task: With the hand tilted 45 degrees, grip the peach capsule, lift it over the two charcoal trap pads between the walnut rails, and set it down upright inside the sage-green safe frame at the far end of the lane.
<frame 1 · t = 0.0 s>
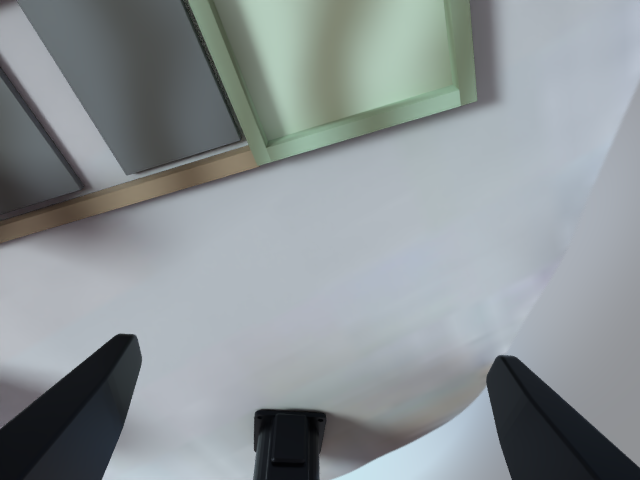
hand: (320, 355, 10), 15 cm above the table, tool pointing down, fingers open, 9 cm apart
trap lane: (81, 95, 20), on the table
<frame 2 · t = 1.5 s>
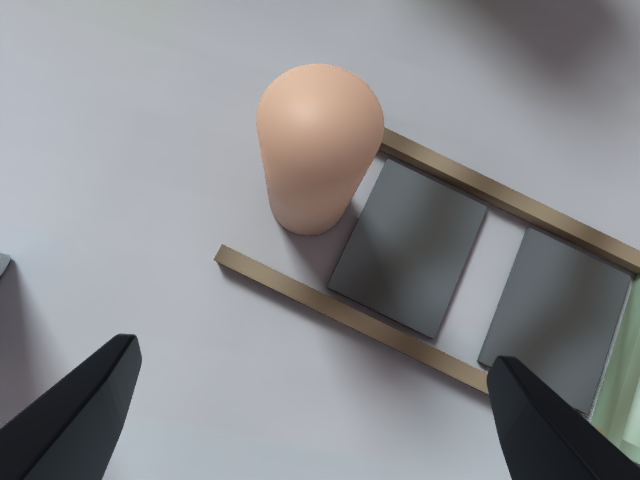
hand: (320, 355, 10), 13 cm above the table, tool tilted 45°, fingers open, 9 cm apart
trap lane: (502, 292, 24), on the table
peach capsule: (308, 197, 25), on the table
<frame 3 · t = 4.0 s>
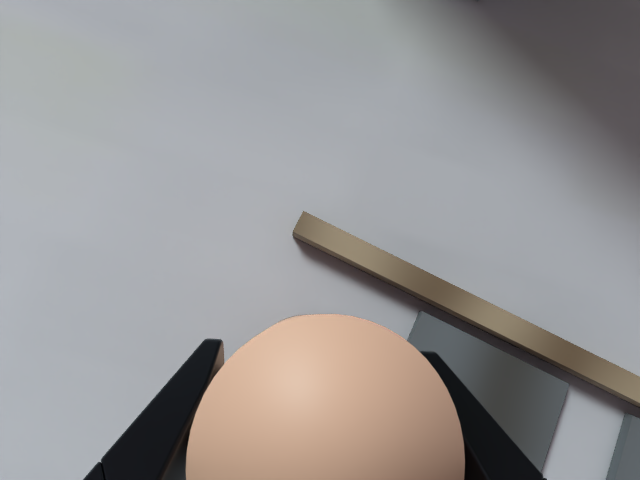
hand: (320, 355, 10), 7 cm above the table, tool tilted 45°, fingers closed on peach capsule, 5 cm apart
peach capsule: (305, 373, 17), on the table, touching gripper
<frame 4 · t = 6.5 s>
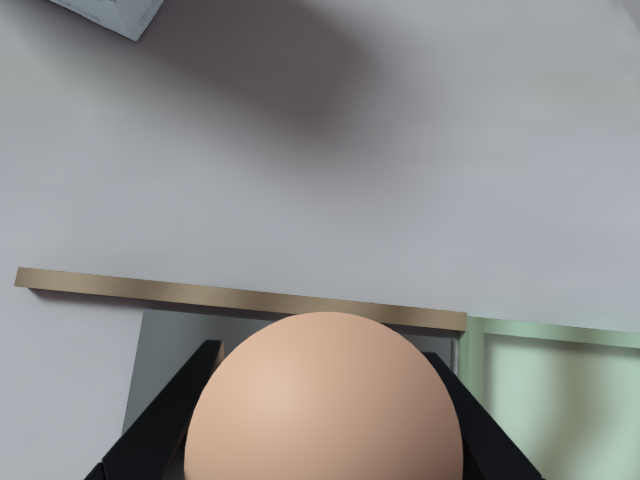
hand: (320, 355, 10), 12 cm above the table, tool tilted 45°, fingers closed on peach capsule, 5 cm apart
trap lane: (319, 410, 21), on the table
peach capsule: (304, 372, 17), point 5 cm above the table, touching gripper
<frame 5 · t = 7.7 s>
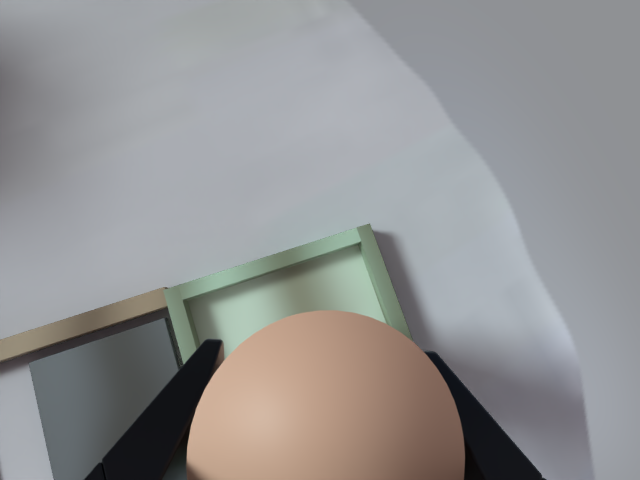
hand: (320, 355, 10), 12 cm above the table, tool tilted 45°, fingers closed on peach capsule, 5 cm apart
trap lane: (52, 448, 20), on the table
peach capsule: (305, 371, 17), point 5 cm above the table, touching gripper
when the fingers open (9 cm above the table, at t = 8.8 s): peach capsule drops 1 cm, resting on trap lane.
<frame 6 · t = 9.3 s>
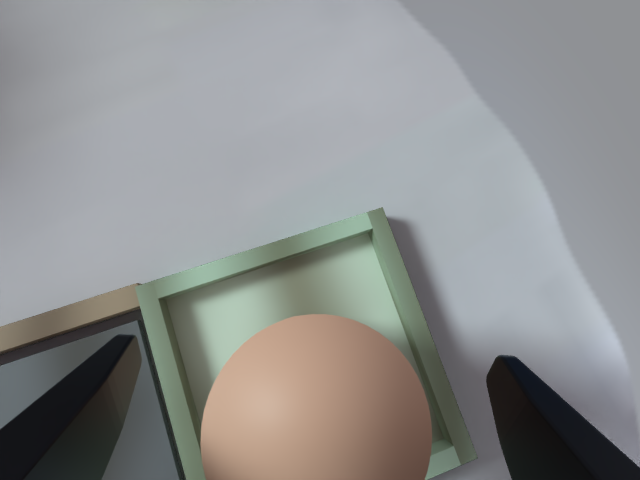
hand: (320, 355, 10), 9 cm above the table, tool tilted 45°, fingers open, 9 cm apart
peach capsule: (303, 368, 18), resting on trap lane
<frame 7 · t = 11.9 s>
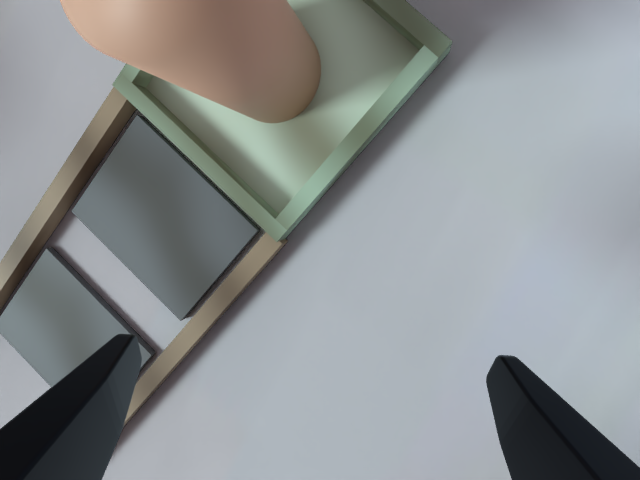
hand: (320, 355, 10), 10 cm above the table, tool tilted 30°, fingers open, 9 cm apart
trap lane: (130, 264, 23), on the table
peach capsule: (272, 72, 19), resting on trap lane
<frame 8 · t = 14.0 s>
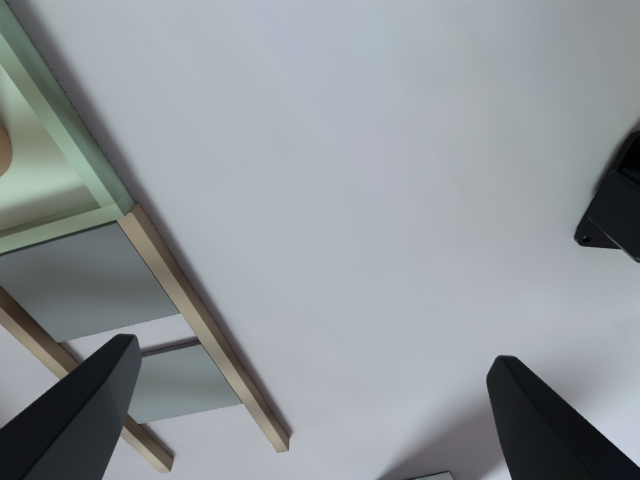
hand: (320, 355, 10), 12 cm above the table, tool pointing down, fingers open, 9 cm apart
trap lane: (119, 324, 26), on the table
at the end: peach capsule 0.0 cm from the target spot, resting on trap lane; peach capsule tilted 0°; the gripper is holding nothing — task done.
